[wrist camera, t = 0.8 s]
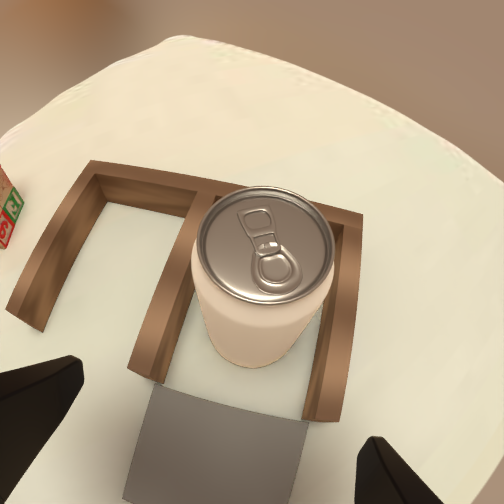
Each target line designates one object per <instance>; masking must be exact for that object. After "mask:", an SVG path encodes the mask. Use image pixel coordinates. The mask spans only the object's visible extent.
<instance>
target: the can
mask: <svg viewBox="0 0 504 504" xmlns="http://www.w3.org/2000/svg"><path fill="white" fill-rule="evenodd" d="M334 257H335V241H334V236H333V232H332V230H331V227H330V225H329V223H328V221H327V220H326V218H325V217H324V215H323V214H322V213H321V212H320V210H319V209H318V208H317V207H316V206H315V205H313V204H312V203H311V202H310V201H308V200H307V199H305V198H304V197H302V196H300V195H298V194H296V193H294V192H291V191H289V190H285V189H282V188H277V187H270V186H254V187H247V188H243V189H239V190H236V191H234V192H231V193H229V194H227V195H225V196H224V197H222V198H221V199H219V200H218V201H217V202H215V203H214V204H213V205H212V206H211V207H210V208H209V209H208V211H207V212H206V213H205V215H204V217H203V218H202V220H201V223H200V225H199V228H198V232H197V238H196V240H195V243H194V246H193V250H192V256H191V268H192V275H193V280H194V285H195V289H196V292H197V296H198V300H199V303H200V307H201V310H202V314H203V317H204V321H205V324H206V327H207V331H208V334H209V337H210V339H211V342H212V344H213V345H214V347H215V349H216V350H217V351H218V352H219V353H220V355H222V356H223V357H224V358H225V359H226V360H228V361H230V362H231V363H234V364H236V365H239V366H242V367H248V368H259V367H263V366H266V365H269V364H271V363H273V362H275V361H277V360H278V359H280V358H281V357H282V356H284V355H285V354H286V352H287V351H288V350H289V349H290V348H291V346H292V345H293V344H294V342H295V341H296V340H297V338H298V337H299V336H300V334H301V333H302V332H303V330H304V329H305V327H306V326H307V325H308V323H309V322H310V320H311V319H312V317H313V316H314V314H315V313H316V312H317V310H318V309H319V307H320V306H321V304H322V302H323V301H324V299H325V297H326V295H327V294H328V291H329V289H330V286H331V283H332V280H333V275H334Z"/></svg>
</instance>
